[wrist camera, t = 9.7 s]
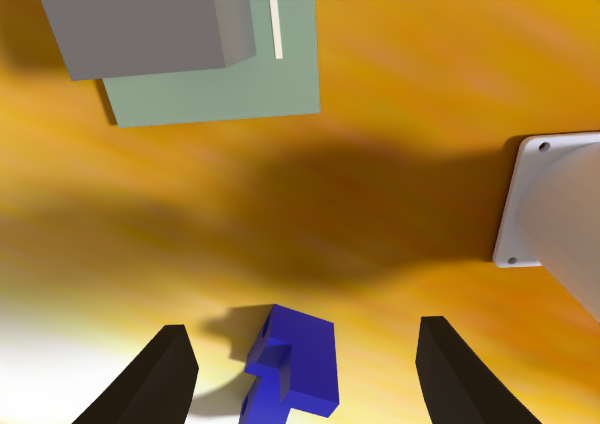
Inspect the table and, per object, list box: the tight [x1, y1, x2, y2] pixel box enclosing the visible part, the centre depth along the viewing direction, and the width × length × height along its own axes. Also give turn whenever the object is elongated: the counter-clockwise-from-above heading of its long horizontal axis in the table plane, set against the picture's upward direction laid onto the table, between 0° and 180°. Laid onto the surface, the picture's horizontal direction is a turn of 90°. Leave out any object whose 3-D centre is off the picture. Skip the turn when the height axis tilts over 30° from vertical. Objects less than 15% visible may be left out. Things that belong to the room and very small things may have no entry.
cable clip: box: [239, 304, 339, 424], centre depth 23 cm, size 12×4×6 cm, turn 158°
